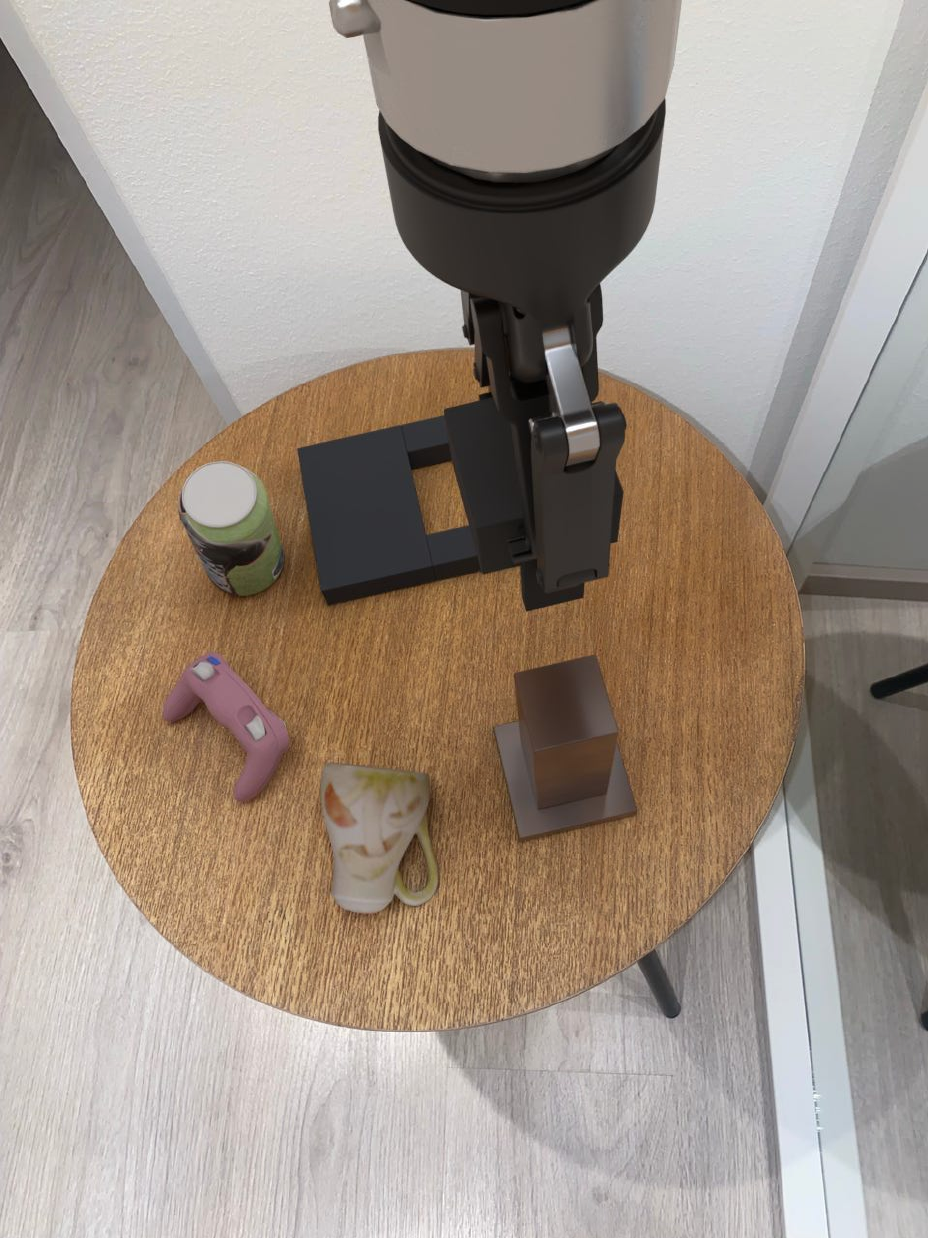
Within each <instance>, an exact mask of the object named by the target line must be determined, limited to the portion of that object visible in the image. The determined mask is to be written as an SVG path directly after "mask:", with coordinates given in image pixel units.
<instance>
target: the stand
mask: <svg viewBox="0 0 928 1238" xmlns="http://www.w3.org/2000/svg"><path fill="white" fill-rule="evenodd" d="M513 681H514V690H515V692H514V693H515V700H516V711H517V719H518V720H514V721H510V722H506V723H500V724H496V725H493V726H492V729H493V730H492V731H493V734H494V739H495V743H496V747H497V750H498V751H497V752H498V756H499V760H500V764H501V769H502V772H503V773H502V774H503V777H504V781H505V785H506V789H507V794H508V798H509V803H510V808H511V810H512V815H513V820H514V824H515V828H516V833H517V837H518V840H519V842H526V841H530V840H534V839H538V838H542V837H547V836H551V835H555V834H560V833H565V832H568V831H569V832H570V831H573V830H577V829H583V828H587V827H590V826H595V825H599V824H603V823H608V822H612V821H615V820H622V819H625V818H629V817H633V816H636V815H637V814H638V808H637V804H636V801H635V798H634V793H633V791H632V788H631V783H630V780H629V777H628V773H627V770H626V767H625V764H624V760H623V757H622V753H621V750H620V746H619V742H618V740H619V733H620V729H619V727H618V724H617V720H616V717H615V713H614V710H613V706H612V703H611V700H610V696H609V693H608V690H607V687H606V683H605V679H604V676H603V672H602V669H601V666H600V663H599V659H598V656H597V654H590V655H585V656H581V657H577V658H572V659H568V660H564V661H559V662H555V663H550V664H546V665H542V666H538V667H533V668H530V669H525V670H520V671H516V672H514V673H513Z"/></svg>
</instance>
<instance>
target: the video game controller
mask: <svg viewBox="0 0 928 1238" xmlns="http://www.w3.org/2000/svg"><path fill="white" fill-rule="evenodd" d="M202 701H203V702H204V704H205V706H206V708H207V710H208V712H209V713H210V716H212V717H213V718H214V719H215V720H216V722H217V723H218V724H220V725H222V726H224V727H225V728H227V729H228V730H229V731H230V732H231V733H232V734H233V735H234V737H235V738H236V739H237V741H238V743H239V745H240V747H241V748H242V749H243V751H244V752H245V753H246V754H247V755H246V756H247V757H246V760H245V763H244V766H243V768H242V771H241V773H240V775H239V777H238V779H237V781H236V783H235V784H234V789H233V798H234V800H235V801H236V802H237V803H246V802H249V801H251V800H253V799H254V798H255V797H257V796H258V795H259V793H261V792H262V790H263V789H264V788H265V787H266V786H267V784H268V783H269V782H270V780H271V779H272V777H273V776H274V774H275V772H276V770H277V768H278V766H279V764H280V762H281V759H282V757H283V755H284V753H286V752H287V751H288V750H290V744H291V743H290V735H289V734H288V728H287V725H286V722H285V721H284V720H283V719H281V718H280V717H279V716H278V715H277V714H276V713H274V712H273V711H272V710H271V709H269V708H267V707H266V706H265V705H264V703H263V702H262V700H261V699H260V698H259V696H258V695H257V694H256V693H255V692H254V691H253V689H252V688H251V687H250V686H249V685H248V684H247V683H246V682H245V680H244V679H243V678H241V677H240V676H239V674H237V673H236V672H235V671H234V670H233V669H232V668H231V667H230V665H229V663H228V662H227V660H226V659H225V658H224V657H223V656H222V655H221V654H220V653H218V652H217V651H212V650H211V651H209V652H207V653H204V654H203V655H201V656H199V657H197V658H195V659H194V660H193V661H192V662H191V663H190V664H188V665H187V666H186V667H185V668H184V670H183V671H182V672H181V674H180V676H179V678H178V680H177V681H176V684H175V685H174V687H173V688H172V690H171V691H170V693H169V695H168V696H167V698H166V699H165V702H164V704H163V708H162V713H161V715H162V718H163V720H164V721H165V722H167V723H175V722H178V721H179V720H181V719H183V718H185V717H187V716H188V715H189V714H190V713H191V712H192V711H193V710H194V709H195V708H196V707H197V706H198V705H199V704H200V703H201V702H202Z"/></svg>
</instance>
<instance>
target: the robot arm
mask: <svg viewBox="0 0 928 1238" xmlns="http://www.w3.org/2000/svg"><path fill="white" fill-rule="evenodd" d="M682 2H683V0H329V1H328V7H329V12H330V18H331V19H330V20H331V23H332V27H333V29H334V30H335V31H336V33H337V34H339V35H340V36H342V37H344V38H345V39H350V38H351V39H352V38H356V37H361V36H362V37H363V43H364V48H365V53H366V59H367V63H368V69H369V74H370V78H371V83H372V84H371V85H372V88H373V93H374V98H375V104H376V106H377V108H378V116H377V130H378V136H379V141H380V147H381V152H382V157H383V163H384V169H385V174H386V179H387V185H388V186H387V187H388V190H389V191H388V192H389V198H390V202H391V208H392V214H393V217H394V222H395V226H396V229H397V231H398V234H399V236H400V239H401V241H402V242H403V245H404V246H405V248H406V249H407V251H408V252H409V253H410V255H411V256H412V257H413V259H414V260H415V261H416V262H417V263H418V264H419V265H420V266H421V267H422V268H423V269H424V270H425V271H427V272H428V273H430V274H431V275H432V276H433V277H435V279H437V280H439V281H441V282H443V283H444V284H447V285H448V286H451V287H453V288H455V289H457V290H459V291H460V296H461V297H460V298H461V308H462V318H463V319H462V320H463V325H461V328H462V329H461V330H462V335H463V337H464V339H466V340H467V343H468V345H469V346H474V362H473V368H472V372H473V376H474V377H473V378H474V380H475V381H477V383H478V384H479V387H480V388H486V387H488V388H487V389H488V392H484V393H479V394H478V401H479V400H484V399H488V398H492V397H493V398H494V401H495V403H496V406H497V409H498V411H499V414H500V417H501V418H502V419H503V420H504V421H506V422H509V423H511V430H512V438H513V445H514V452H515V460H516V467H517V475H518V482H519V489H520V497H521V504H522V512H523V519H524V526H521V527H518V536H516V537H512V538H508V539H507V542H508V547H509V551H510V555H511V558H512V561H513V564H517V563H520V566H519V569H520V570H519V573H520V588H521V589H520V590H521V600H522V604H523V606H524V610H525V612H526V613H527V612H532V611H536V610H540V609H544V608H547V607H552V606H556V605H560V604H564V603H569V602H572V601H576V600H580V599H584V598H585V585H586V584H585V583H589V582H592V581H597V580H601V579H605V578H608V577H609V575H610V567H611V563H610V560H611V544H612V543H611V532H612V517H613V502H614V487H615V472H617V460H618V457H619V456H620V453H621V450H622V447H623V446H624V444H625V441H626V440H625V439H626V430H627V426H628V425H627V420H626V417H625V414H624V412H623V411H622V409H621V406H619V405H618V403H617V402H615V401H613V402H609V403H607V401H606V400H600V401H596V400H597V398H598V396H599V392H600V382H599V381H600V380H599V363H598V362H599V361H598V346H597V345H598V342H597V340H598V339H597V337H598V334H599V332H600V330H601V328H602V327H603V324H604V305H603V304H604V302H603V291H602V285H601V283H602V282H603V281H604V280H605V279H606V278H607V277H608V276H609V275H610V274H611V273H612V272H613V271H614V270H615V269H616V268H617V267H618V266H619V265H620V264H622V262H623V261H625V259H627V258H628V257H629V255H630V254H631V253H632V252H633V251H634V250H635V249H636V247H637V246H638V244H639V243H640V242H641V240H642V238H643V237H644V235H645V234H646V232H647V230H648V227H649V225H650V222H651V220H652V217H653V213H654V210H655V205H656V198H657V189H658V180H659V172H660V164H661V157H662V148H663V140H664V133H665V132H664V131H665V123H666V116H667V115H666V113H667V106H666V105H667V104H666V103H667V102H666V101H667V99H666V96H667V92H668V88H669V85H670V82H671V77H672V74H673V69H674V67H675V61H676V60H675V59H676V53H677V43H678V37H679V36H678V35H679V27H680V18H681V10H682ZM594 401H596V402H594ZM590 403H591V404H590Z"/></svg>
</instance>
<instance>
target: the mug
mask: <svg viewBox="0 0 928 1238" xmlns="http://www.w3.org/2000/svg"><path fill="white" fill-rule="evenodd" d="M321 771H322V772H321V777H320V782H319V799H320V806H321V811H322V815H323V819H324V823H325V826H326V830H327V834H328V838H329V841H330V846H331V849H332V857H333V870H332V871H333V873H332V874H333V876H332V883H331V890H330V894H331V897H332V898H333V899H334V902H336V905H338V906H339V907H340V908H342V909H344V910H346V911H348V912H353V913H357V914H377V913H379V912H381V911H382V910H384V909H386V907H387V906H389V904H390V903H391V902H392V901H393V900H394V899H393V898H394V896H396V897H397V898H398V899H399V900H400V901H401V902H402V903H403V904H404V905H407V906H409V907H418V906H421V905H423V904H425V903H427V902H428V901H429V900H430V899H432V897H433V896H434V895H435V893H436V891H437V888H438V885H439V877H440V876H439V865H438V861H437V857H436V855H435V851H434V848H433V843H432V840H431V835H430V832H429V831H430V830H429V813H428V811H427V809H428V806H429V801H430V796H431V779H430V773H428V772H421V771H414V770H405V769H399V768H398V769H397V768H391V767H383V766H382V767H381V766H371V765H364V764H363V765H362V764H353V763H342V762H341V763H340V762H327V763H326V764H325V765H324V766H323V767H322V770H321ZM414 835H416V836H417V838H418V841H419V844H420V847H421V850H422V852H423V856H424V859H425V862H426V866H427V872H428V877H427V883H426V885H425V886H424V887H423V888H422V889H421V890H418V891H413V890H409V889H408V888H407V887H406V886H405V884H404V880H403V876H402V873H401V870H400V869H399V866H400V863H401V861H402V859H403V857H404V855H405V853H406V851H407V849H408V847H409V845H410V844H411V842H412V840H413V839H414V838H413V837H414Z"/></svg>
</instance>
